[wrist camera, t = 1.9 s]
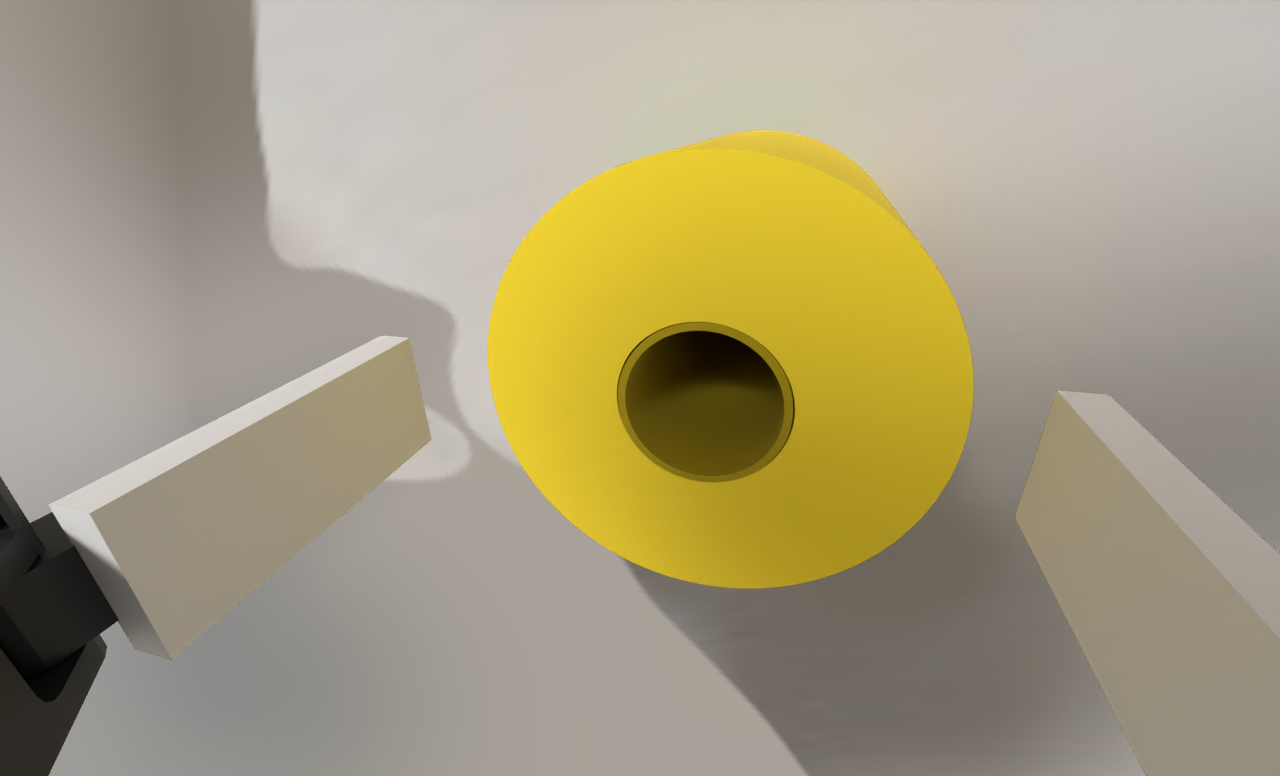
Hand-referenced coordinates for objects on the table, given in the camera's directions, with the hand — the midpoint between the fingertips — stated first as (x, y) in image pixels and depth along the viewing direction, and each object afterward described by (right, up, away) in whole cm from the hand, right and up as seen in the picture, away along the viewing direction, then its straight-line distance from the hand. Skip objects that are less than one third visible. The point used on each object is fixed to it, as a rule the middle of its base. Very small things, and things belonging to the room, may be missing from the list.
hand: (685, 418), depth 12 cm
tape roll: (+3, +4, +8) cm, 10 cm away
